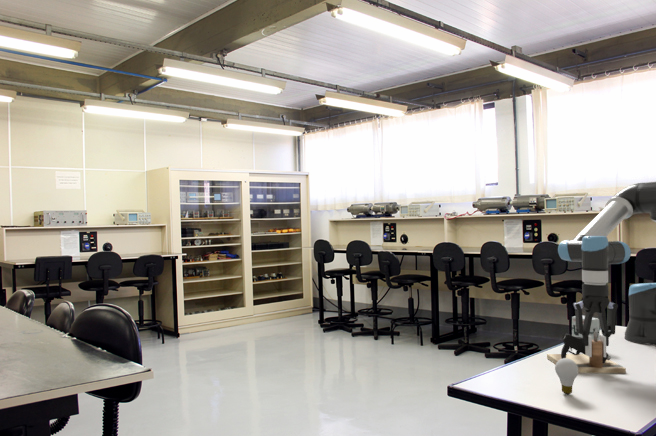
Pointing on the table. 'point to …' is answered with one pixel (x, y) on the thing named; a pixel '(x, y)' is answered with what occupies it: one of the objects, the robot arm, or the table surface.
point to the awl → (596, 353)
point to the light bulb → (566, 374)
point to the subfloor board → (584, 366)
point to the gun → (575, 346)
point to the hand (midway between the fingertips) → (595, 355)
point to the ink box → (593, 328)
